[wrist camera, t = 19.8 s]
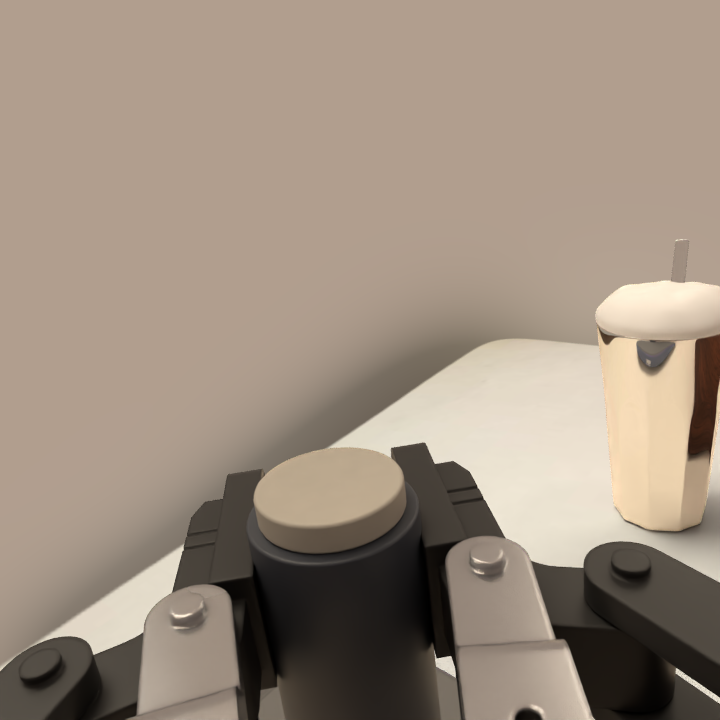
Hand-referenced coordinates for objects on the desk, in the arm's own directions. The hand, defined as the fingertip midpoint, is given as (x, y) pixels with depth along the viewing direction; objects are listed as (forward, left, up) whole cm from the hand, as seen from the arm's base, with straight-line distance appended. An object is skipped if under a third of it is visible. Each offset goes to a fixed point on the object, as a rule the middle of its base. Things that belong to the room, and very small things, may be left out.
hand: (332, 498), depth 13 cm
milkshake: (+13, +8, -9) cm, 18 cm away
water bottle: (0, -3, -8) cm, 9 cm away
